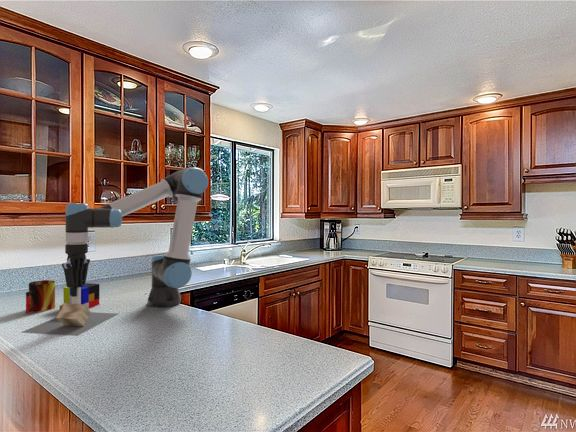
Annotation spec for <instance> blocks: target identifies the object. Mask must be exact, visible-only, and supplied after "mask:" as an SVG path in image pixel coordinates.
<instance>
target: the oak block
mask: <svg viewBox="0 0 576 432" xmlns="http://www.w3.org/2000/svg"><path fill="white" fill-rule="evenodd" d="M91 312H92V311H90V308H89V309H88V308H87V307H86V306H85V305H84V304H64V305H63V307H62V309H61V310H60V309H59V312H58V314H57V315H56V317H55V318H57V319H58V320H59V321H60V322H61V323H62V324H63V325H65V326H84V325H85V323H86V321H87V319H88V317H89V315H90V313H91Z"/></svg>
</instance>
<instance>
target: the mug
mask: <svg viewBox="0 0 576 432" xmlns="http://www.w3.org/2000/svg"><path fill="white" fill-rule="evenodd" d="M55 308H56V280H53V279H46V280H45V279H44V280H36V281H35V280H34V281H31V282H29V283H28V291H26V292H25V314H31V313H32V312H33V313H37V312H38V313H39V312H46V311H50V310H53V309H55Z"/></svg>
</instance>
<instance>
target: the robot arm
mask: <svg viewBox="0 0 576 432" xmlns="http://www.w3.org/2000/svg"><path fill="white" fill-rule="evenodd" d="M208 185H209V178H208V176H207V174H206V172H205V171H204V170H203V169H202V168H199V167H188V168H183V169H179V170H177V171H175V172H173V173H172V174H169V175H168V176H165V177H163V178H161V179H160V182H158V183H154V184H152V185H150V186H148V187H145V188H142V189H141V190H140V189H139V190H138V191H136V192H134V193H131V194H128V195H126V196H123V197H121V198H119V199H117V200H114V201H112V202H110V203H107V204H104V205H102V206H100V207H95V208H91V207H89V205H88V203H76V202H73V203H71V202H70V203H67V204H66V206H65V214H64V216H65V217H64V218H65V220H64V221H65V243H66V244H65V245H64V247H65V249H64V250H65V251H64V252H65V254H66V255H67V257H66V262H64V263H61V267H62V269H63V274H64V278H65V285H66V287H69V288H71V296H72V304H81V287H84V285H83V284H85V283H87V277H88V272H89V271H88V270H89V265H90V262H91V259H89V258H87V255H86V254H87V253H88V252H89V244H88V242H89V229H90V228H91V229H93V228H101V229H102V228H112V229H113V228H120V227H121V226H122V223H123V217H125V216H127V215H130V214H132V213H134V212H136V211H138V210H140V209H143V208H145V207H147V206H149V205H152V204H154V203H157V202H158V201H160V200H163V199H165V198H173V197H175V196H176V197H177V203H176V209H175V214H174V220H173V225H172V231H171V236H170V241H169V247H168V251H167V252H166V253H165V254H161V255H153V256H152V258H151V288H150V291H149V294H148V296H147V305H148V306H149V307H152V308H153V307H155V308H161V307H162V308H167V307H172V306H177V305H179V304H180V303H181V302H182V296H181V293H180V290H179V288H183V287H184V286H186V285H188V283H189V282H190V280H191V279H192V276H193V275H192V268H191V266H190V265H191V260H192V259H191V257H190V256H189V250H190V246H191V240H192V235H193V230H194V224H195V218H196V213H197V207H198V203H199V202H200V201H202V197H203V193H204V192H205V191H206V190H207V188H208Z"/></svg>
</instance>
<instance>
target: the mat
mask: <svg viewBox="0 0 576 432" xmlns="http://www.w3.org/2000/svg"><path fill="white" fill-rule="evenodd" d="M90 312H91V313H90V315H89V317H88V319H87V321H86V323H85V325H84V326H65V325H63V324H62V323H61V322H60V321H59V320H58V319H57V318H56V317H54V318H52V319H50V320H47V321H44V322H43V323H40V324H37V325H35V326H33V327H29V328H28V329H26V330H23V331H21V333H27V334H42V335H44V334H45V335H57V336H58V335H59V336H60V335H61V336H76V337H78V336H80V335H82V334H84V333H86V332H88V331H90V330H91V329H93V328H95V327H96V326H99V325H101V324H103V323H104V322H106V321H108V320H110V319H112V318H114V317H115V316H116V317H117V315H119V313H116V312H115V313H113V312H112V313H111V312H110V313H109V312H93V311H90Z"/></svg>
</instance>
